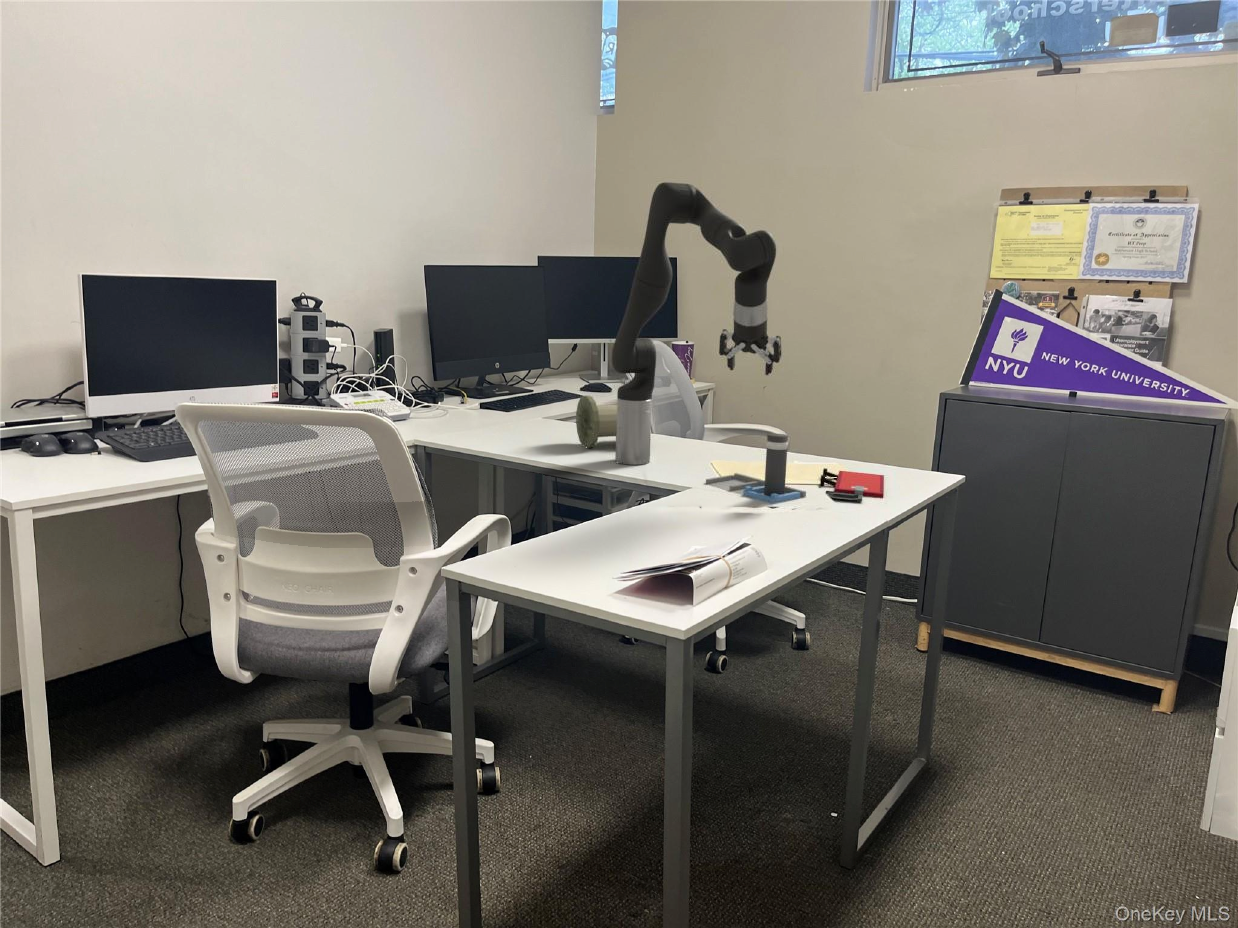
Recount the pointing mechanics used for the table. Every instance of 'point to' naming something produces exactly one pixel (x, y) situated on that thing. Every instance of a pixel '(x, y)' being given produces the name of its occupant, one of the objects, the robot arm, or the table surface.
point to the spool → (594, 421)
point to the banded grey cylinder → (776, 464)
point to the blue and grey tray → (753, 488)
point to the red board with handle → (854, 485)
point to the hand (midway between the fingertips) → (749, 370)
